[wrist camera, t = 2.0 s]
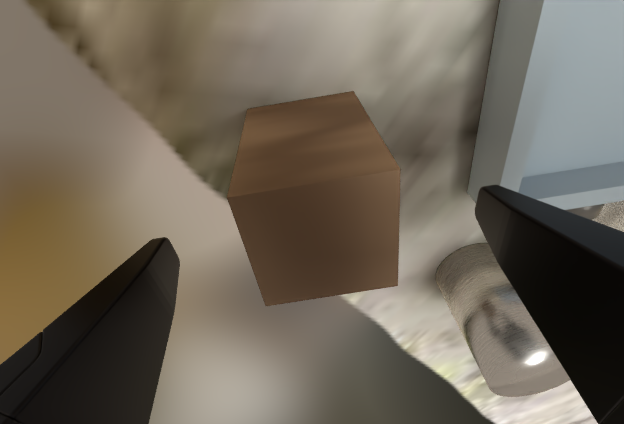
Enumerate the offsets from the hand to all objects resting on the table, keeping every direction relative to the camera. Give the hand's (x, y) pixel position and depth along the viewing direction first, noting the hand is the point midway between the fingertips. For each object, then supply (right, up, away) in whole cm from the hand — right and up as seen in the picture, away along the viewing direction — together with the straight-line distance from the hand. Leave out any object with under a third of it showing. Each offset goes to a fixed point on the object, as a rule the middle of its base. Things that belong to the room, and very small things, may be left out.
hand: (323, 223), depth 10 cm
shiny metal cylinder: (+9, -3, +9) cm, 13 cm away
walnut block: (-1, +3, +4) cm, 5 cm away
